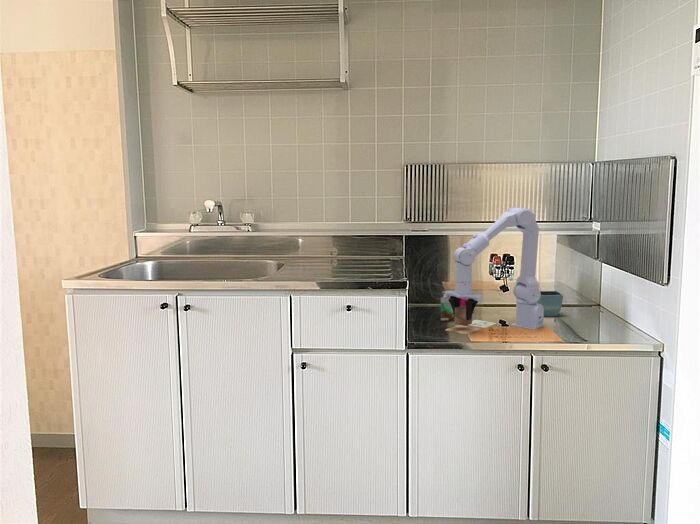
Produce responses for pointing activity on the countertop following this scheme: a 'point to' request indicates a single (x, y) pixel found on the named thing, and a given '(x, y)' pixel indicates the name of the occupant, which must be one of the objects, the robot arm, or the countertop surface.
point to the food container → (446, 309)
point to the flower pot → (551, 302)
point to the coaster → (462, 329)
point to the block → (461, 316)
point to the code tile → (481, 323)
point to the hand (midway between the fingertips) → (462, 318)
